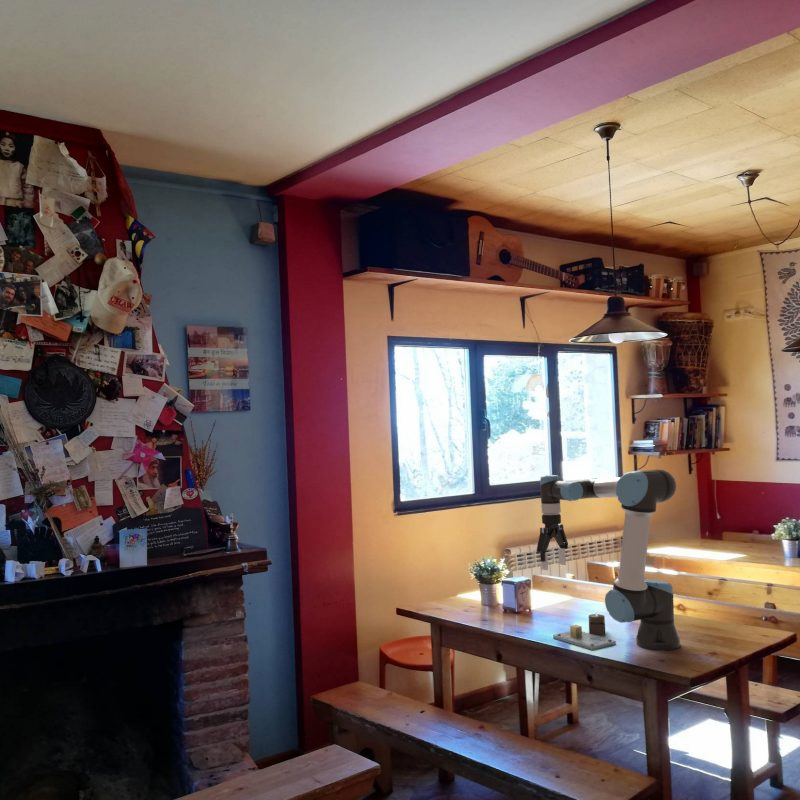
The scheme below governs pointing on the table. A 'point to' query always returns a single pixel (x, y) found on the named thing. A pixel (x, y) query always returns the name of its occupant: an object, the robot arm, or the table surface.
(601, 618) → the brown block
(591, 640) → the plate
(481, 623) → the table surface
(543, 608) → the table surface
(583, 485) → the robot arm
